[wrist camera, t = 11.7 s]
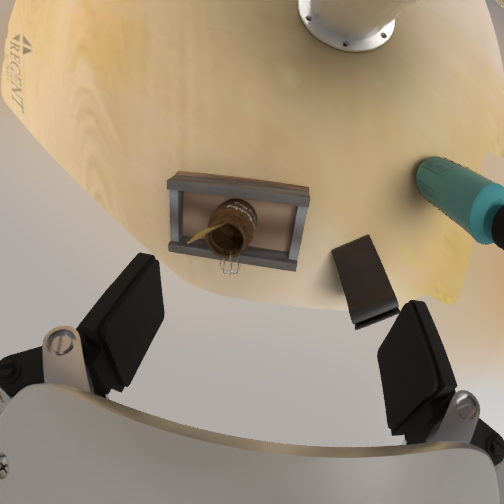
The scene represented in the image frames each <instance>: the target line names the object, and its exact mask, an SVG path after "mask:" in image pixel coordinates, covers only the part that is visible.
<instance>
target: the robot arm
mask: <svg viewBox="0 0 504 504" xmlns="http://www.w3.org/2000/svg"><path fill="white" fill-rule="evenodd" d="M417 1H418V0H298V11H299V15H300V17H301V20H302V22H303V23H304V25H305V26H306V28H307V29H308V30H309V31H310V32H311V33H312V34H313V35H314V36H315V37H316V38H318V39H319V40H320V41H322V42H324V43H326V44H327V45H329V46H332V47H334V48H336V49H340V50H344V51H350V52H365V51H370V50H373V49H376V48H378V47H380V46H381V45H383V44H384V43H385V42H387V41H388V40H389V39H390V37H391V35H392V34H393V31H394V28H395V18H396V17H398V16H399V15H400V14H401V13H403V12H404V11H405V10H406V9H408V8H409V7H410V6H412V5H413V4H414V3H416V2H417ZM495 1H496V2H498V3H499V4H500V5H501V6H502V7H503V8H504V0H495ZM307 19H310V21H307ZM381 36H383V38H382V37H381ZM343 44H346V47H345V46H343ZM163 319H164V305H163V296H162V287H161V277H160V267H159V261H158V260H156V259H155V256H154V255H150V254H145V253H139V254H137V255H136V257H135V258H134V259H133V260H132V261H131V262H130V263H129V265H128V266H127V267H126V268H125V269H124V270H123V272H122V273H121V274H120V275H119V276H118V278H117V279H116V280H115V281H114V282H113V283H112V284H111V285H110V287H109V288H108V289H107V290H106V291H105V293H104V294H103V295H102V296H101V298H100V299H99V300H98V301H97V303H96V304H95V305H94V306H93V308H92V309H91V310H90V312H89V313H88V314H87V315H86V317H85V318H84V319H83V321H82V322H81V323H80V324H79V326H78V327H77V328H76V329H74V328H72V327H70V326H59V327H56V328H54V329H52V330H51V331H49V333H48V334H47V335H46V336H45V338H44V340H43V345H42V346H41V347H37V348H34V349H30V350H27V351H24V352H20V353H17V354H13V355H10V356H7V357H4V358H3V359H2V360H0V504H504V440H503V438H502V437H501V436H500V435H499V434H498V433H497V432H496V431H494V430H493V429H492V428H491V427H489V426H488V425H487V424H486V423H484V422H483V421H482V420H481V419H480V418H479V414H480V405H479V403H478V401H477V399H476V397H475V396H474V395H473V394H472V393H470V392H468V391H465V390H461V391H458V392H455V388H456V387H457V383H456V380H455V377H454V374H453V371H452V368H451V365H450V362H449V360H448V357H447V354H446V352H445V349H444V346H443V344H442V341H441V339H440V336H439V334H438V331H437V329H436V327H435V324H434V322H433V319H432V317H431V315H430V312H429V310H428V308H427V306H426V304H425V302H423V301H416V300H410V301H409V302H408V303H406V304H405V305H404V306H403V308H402V310H401V312H400V313H399V315H398V317H397V319H396V321H395V323H394V324H393V326H392V328H391V329H390V331H389V333H388V335H387V336H386V338H385V340H384V341H383V343H382V344H381V346H380V348H379V350H378V355H377V357H378V363H379V368H380V374H381V381H382V387H383V394H384V400H385V408H386V415H387V424H388V427H389V428H390V429H391V433H392V436H395V435H405V440H404V442H403V443H402V445H398V446H381V447H318V446H303V445H292V444H282V443H274V442H266V441H259V440H253V439H246V438H240V437H235V436H230V435H225V434H220V433H216V432H211V431H207V430H202V429H198V428H194V427H190V426H187V425H183V424H179V423H176V422H173V421H169V420H166V419H163V418H160V417H157V416H153V415H150V414H147V413H144V412H141V411H138V410H135V409H133V408H130V407H127V406H124V405H122V404H119V403H116V402H114V401H111V400H109V397H108V394H109V392H110V390H111V389H114V390H116V391H119V392H122V391H123V389H124V387H125V386H126V387H128V386H129V385H130V383H131V381H132V379H133V377H134V375H135V373H136V371H137V369H138V367H139V365H140V364H141V362H142V360H143V357H144V356H145V354H146V352H147V350H148V348H149V346H150V344H151V342H152V340H153V338H154V336H155V334H156V333H157V331H158V329H159V327H160V325H161V323H162V321H163Z"/></svg>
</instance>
